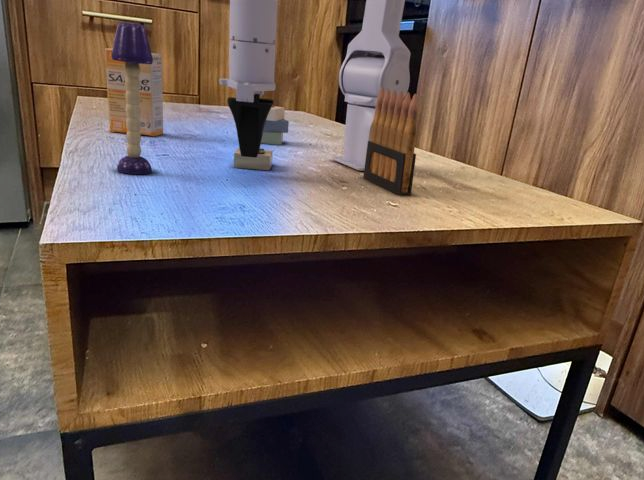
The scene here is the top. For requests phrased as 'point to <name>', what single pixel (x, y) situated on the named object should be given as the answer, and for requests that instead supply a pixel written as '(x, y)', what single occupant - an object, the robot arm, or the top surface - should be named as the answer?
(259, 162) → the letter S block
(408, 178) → the ammunition clip
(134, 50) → the toy lamp
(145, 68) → the supplement box
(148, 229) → the top surface
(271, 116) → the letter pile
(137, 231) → the top surface
